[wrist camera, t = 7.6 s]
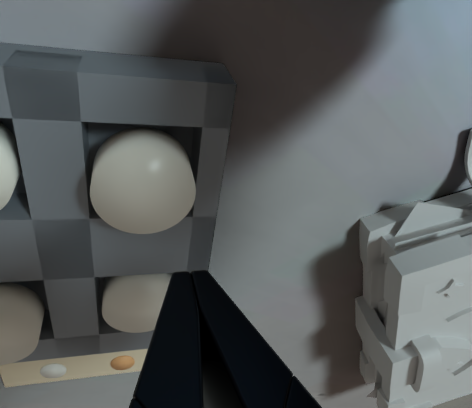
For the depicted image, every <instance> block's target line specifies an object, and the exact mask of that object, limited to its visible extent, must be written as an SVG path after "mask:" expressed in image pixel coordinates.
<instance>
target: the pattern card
mask: <svg viewBox="0 0 472 408" xmlns="http://www.w3.org/2000/svg"><path fill="white" fill-rule="evenodd" d="M147 350H148V349H140V350H131V351H121V352H112V353H103V354H93V355H84V356H74V357H65V358H56V359H46V360H37V361H27V362H18V363H10V364H5V365H0V374H1V377H2V380H3V383H4V386H5V387H12V386H21V385H29V384H37V383H45V382H54V381H62V380H70V379H78V378H87V377H95V376H103V375H112V374H120V373H128V372H136V371H141V369H142V366H143V363H144V360H145V357H146V354H147Z"/></svg>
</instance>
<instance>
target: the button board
mask: <svg viewBox="0 0 472 408" xmlns="http://www.w3.org/2000/svg"><path fill="white" fill-rule="evenodd" d="M236 87H237V84H236V83H235V81H234V80H233V78H232V77H231V75H230V74H229V72H228V71H227V69H226V68H225V66H224V64H222V63H212V62H201V61H190V60H180V59H169V58H159V57H148V56H137V55H127V54H116V53H106V52H95V51H84V50H74V49H63V48H52V47H42V46H31V45H21V44H10V43H0V122H1V123H2V124H3V125H4V126H6V127H7V128H8V129H9V130H10V131H11V132H12V134H13V135H14V136H15V137H16V141H17V147H18V152H19V157H20V162H21V167H22V172H21V174H20V177H19V179H18V181H17V184H16V186H15V189H14V191H13V193H12V196H11V198H10V200H9V201H8V203H7V204H6V205H5V206H4V207H3V208H2V209H1V210H0V282H10V283H15V284H19V285H22V286H24V287H27V288H29V289H30V290H32V291H34V292H35V293H36V294H37V295H38V296H39V297H40V298H41V299H42V301H43V303H44V306H45V313H44V317H43V322H42V327H41V332H40V336H39V341H38V345H37V347H36V349H35V350H34V351H33V352H32V353H31V354H30V355H29V356H27V357H26V358H24V359H22V360H19V361H17V362H14V363H18V362H27V361H37V360H46V359H56V358H65V357H74V356H84V355H93V354H103V353H112V352H121V351H131V350H140V349H148V347H149V344H150V341H151V338H152V335H153V332H154V330H152V331H148V332H142V333H129V332H123V331H120V330H117V329H115V328H113V327H111V326H110V325H109V324H107V323H106V321H105V320H104V318H103V316H102V302H103V287H104V280H105V277H109V276H127V275H145V274H163V273H173V272H176V271H189V273H190V272H191V271H195V270H206V271H208V268H209V262H210V255H211V249H212V242H213V236H214V229H215V223H216V216H217V210H218V203H219V197H220V191H221V184H222V178H223V171H224V165H225V158H226V152H227V145H228V139H229V132H230V126H231V119H232V113H233V106H234V100H235V93H236ZM135 127H147V128H154V129H158V130H160V131H163V132H165V133H167V134H169V135H171V136H172V137H174V138H175V139H176V140H177V141H178V142H179V143H180V144H181V145H182V146H183V148H184V149H185V151H186V153H187V155H188V158H189V161H190V165H191V169H192V173H193V177H194V181H195V186H196V196H195V201H194V203H193V206H192V208H191V210H190V211H189V213H188V214H187V215H186V216H185V217H184V218H183V219H182V220H181V221H180V222H179V223H177V224H176V225H174V226H172V227H171V228H169V229H166V230H164V231H160V232H157V233H151V234H134V233H128V232H124V231H121V230H118V229H116V228H114V227H112V226H111V225H109V224H107V223H106V222H105V221H104V220H103V219H102V218H101V217H100V216H99V215H98V214H97V212H96V211H95V209H94V207H93V205H92V202H91V198H90V185H91V178H92V171H93V164H94V158H95V156H96V153H97V151H98V149H99V148H100V146H101V145H102V144H103V143H104V142H105V141H106V140H107V139H108V138H109V137H111V136H112V135H114V134H116V133H117V132H120V131H122V130H125V129H129V128H135Z"/></svg>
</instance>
